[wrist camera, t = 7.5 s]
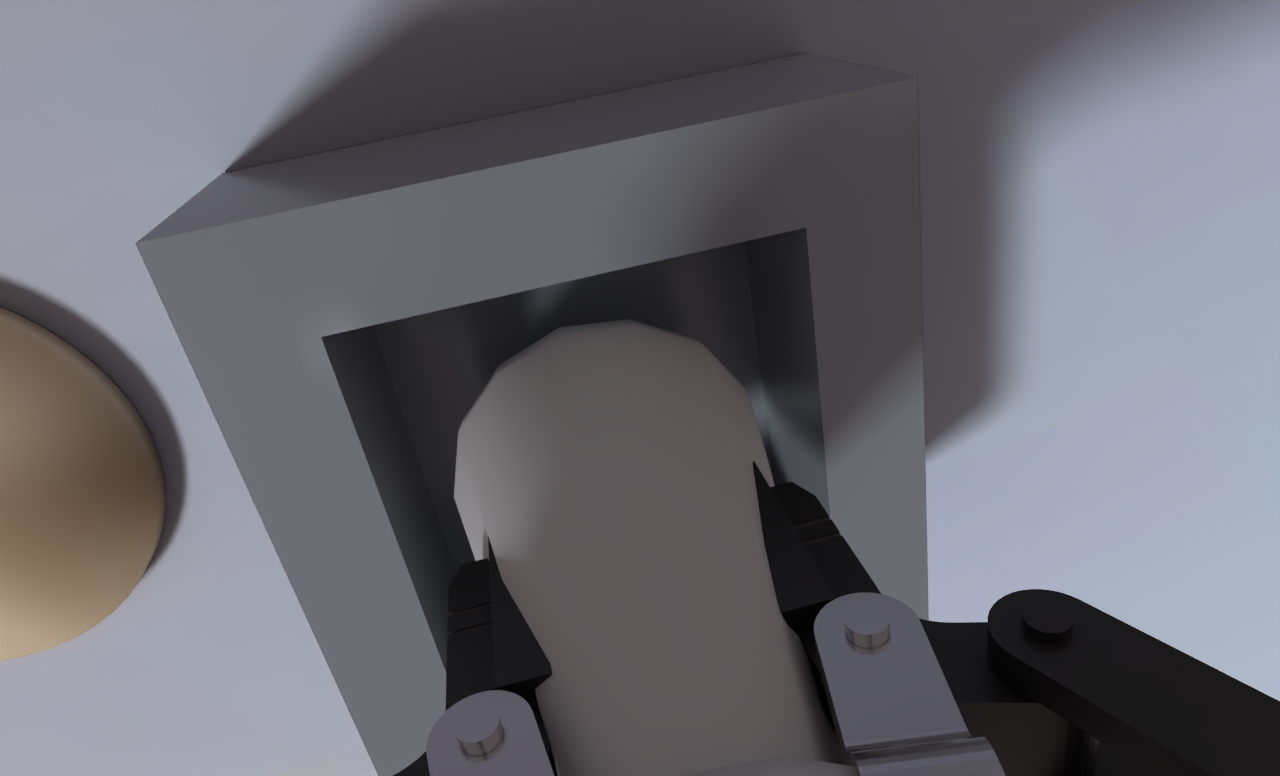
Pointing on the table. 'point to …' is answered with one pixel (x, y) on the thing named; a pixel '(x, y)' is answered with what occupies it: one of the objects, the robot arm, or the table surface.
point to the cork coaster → (68, 491)
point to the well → (552, 325)
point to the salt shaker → (641, 557)
